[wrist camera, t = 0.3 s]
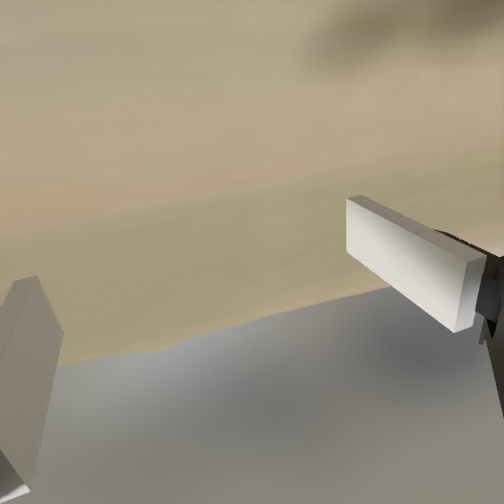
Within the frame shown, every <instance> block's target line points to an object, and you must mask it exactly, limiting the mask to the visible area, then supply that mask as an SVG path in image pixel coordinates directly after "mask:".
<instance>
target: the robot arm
mask: <svg viewBox="0 0 504 504" xmlns="http://www.w3.org/2000/svg"><path fill="white" fill-rule="evenodd" d="M347 252H348V253H349V254H351V255H352V256H353V257H354V258H356V259H357V260H358V261H360V262H361V263H362V264H364V265H365V266H366V267H368V268H369V269H370V270H372V271H373V272H374V273H376V274H377V275H378V276H380V277H381V278H382V279H384V280H385V281H386V282H387V283H389V284H390V285H391V286H393V287H394V288H396V289H397V290H398V291H399V292H401V293H402V294H403V295H405V296H406V297H407V298H409V299H410V300H411V301H413V302H414V303H415V304H417V305H418V306H419V307H421V308H422V309H423V310H424V311H426V312H427V313H429V314H430V315H431V316H432V317H434V318H435V319H437V320H438V321H439V322H440V323H442V324H443V325H444V326H446V327H447V328H448V329H450V330H451V331H452V332H453V333H455V332H458V331H460V330H463V329H465V328H468V327H471V326H472V325H473V320H474V315H475V311H476V312H478V313H480V314H481V315H483V316H484V317H485V318H484V323H483V327H482V331H481V335H480V340H479V344H483V341H484V340H485V339H486V342H487V347H488V351H489V356H490V360H491V364H492V369H493V373H494V377H495V382H496V386H497V390H498V395H499V399H500V404H501V408H502V412H503V416H504V256H502V257H498V256H496V255H494V254H491V253H489V252H487V251H485V250H483V249H481V248H479V247H477V246H474V245H472V244H468V242H466V241H464V240H462V239H460V240H459V238H457V237H455V236H453V235H451V234H449V233H446V232H442V231H438V230H434V229H431V228H429V227H427V226H425V225H423V224H421V223H419V222H417V221H415V220H413V219H410V218H408V217H406V216H404V215H402V214H400V213H398V212H396V211H394V210H392V209H390V208H388V207H385V206H383V205H381V204H379V203H377V202H375V201H373V200H371V199H369V198H367V197H365V196H363V195H359V196H355V197H351V198H347ZM63 333H64V332H63V330H62V328H61V326H60V324H59V322H58V320H57V318H56V315H55V313H54V311H53V309H52V307H51V305H50V303H49V301H48V299H47V296H46V294H45V292H44V290H43V288H42V286H41V284H40V282H39V280H38V277H37V276H33V277H29V278H25V279H21V280H17V281H14V282H13V284H12V286H11V288H10V290H9V292H8V294H7V296H6V298H5V300H4V302H3V304H2V306H1V308H0V503H1V502H4V501H7V500H9V499H12V498H15V497H17V496H20V495H23V494H25V493H28V492H30V491H31V487H32V483H33V477H34V473H35V468H36V463H37V458H38V454H39V449H40V444H41V439H42V435H43V429H44V425H45V420H46V415H47V410H48V405H49V401H50V396H51V391H52V386H53V381H54V376H55V372H56V367H57V362H58V357H59V352H60V348H61V343H62V338H63Z"/></svg>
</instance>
